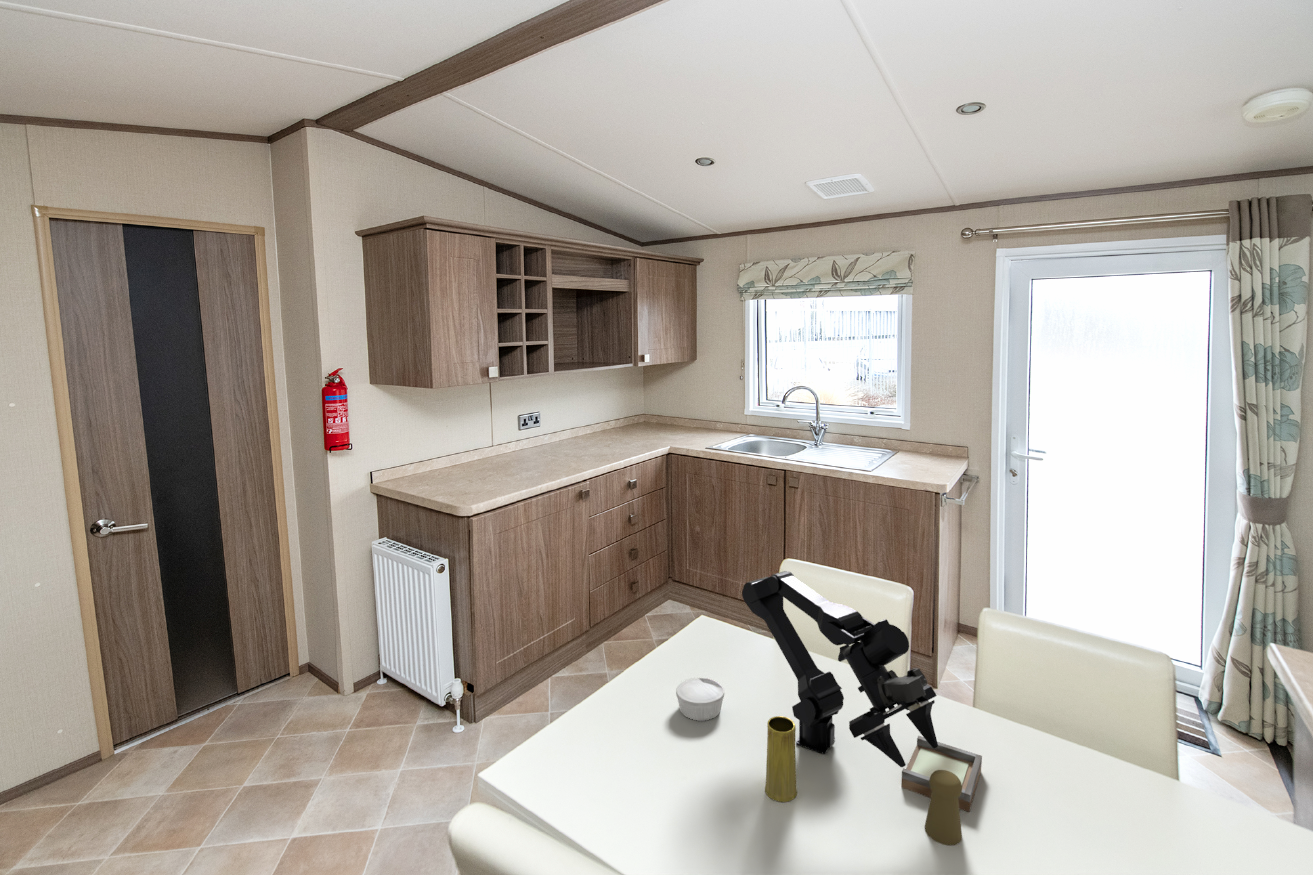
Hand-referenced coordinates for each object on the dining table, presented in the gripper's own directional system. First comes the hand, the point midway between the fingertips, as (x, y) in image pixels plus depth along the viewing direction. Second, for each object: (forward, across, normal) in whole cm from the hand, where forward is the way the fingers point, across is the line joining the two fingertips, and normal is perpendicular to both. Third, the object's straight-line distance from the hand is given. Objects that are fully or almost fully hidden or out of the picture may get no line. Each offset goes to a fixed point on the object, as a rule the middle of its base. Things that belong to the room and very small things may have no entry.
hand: (920, 756), depth 116 cm
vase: (-5, -16, +21) cm, 27 cm away
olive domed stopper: (+12, 0, +5) cm, 13 cm away
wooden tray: (+6, +12, +10) cm, 17 cm away
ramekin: (-26, -13, +43) cm, 52 cm away
